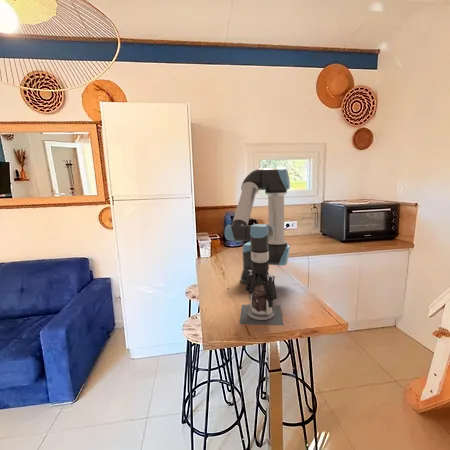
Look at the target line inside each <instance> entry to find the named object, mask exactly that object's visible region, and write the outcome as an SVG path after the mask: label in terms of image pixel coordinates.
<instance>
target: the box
mask: <svg viewBox="0 0 450 450" xmlns="http://www.w3.org/2000/svg"><path fill="white" fill-rule="evenodd" d="M266 300H267V296H266V293H265V290H264V288H260V289H255V290H254V291H252V307H253V308H254V309H255V310H257V311H258V312H259V311H263V310H266Z"/></svg>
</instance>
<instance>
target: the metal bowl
mask: <svg viewBox="0 0 450 450" xmlns="http://www.w3.org/2000/svg"><path fill="white" fill-rule="evenodd" d="M247 314H248V317H249V318H251V319H253V320H257V321H267V320H270V319H272V318H274V316H275V312H274V310H273V309H272V313H271V314H269V315H267V314H266V310H263V311H259V312H258V311H257V310H255V309H254V308H253V307H251V308H250V309H249V310H248V312H247Z"/></svg>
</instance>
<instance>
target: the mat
mask: <svg viewBox="0 0 450 450" xmlns="http://www.w3.org/2000/svg"><path fill="white" fill-rule="evenodd" d="M250 308H251V305H250V304H241V309H240V316H239V325H252V326H253V325H254V326H255V325H256V326H257V325H259V326H285V324H284V318H283V314H282V308H281V305H279V304H273V307H272V309H273V310H274V312H275V316H274V318H272V319H270V320H267V321H257V320H253V319H251V318H249V317H248V314H247V312H248V310H249V309H250Z"/></svg>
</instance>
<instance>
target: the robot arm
mask: <svg viewBox="0 0 450 450" xmlns="http://www.w3.org/2000/svg"><path fill="white" fill-rule="evenodd" d="M290 183H291V182H290V175H289V172H288V170H287V168H286V167H271V168H270V167H269V168H268V167H267V168H257V169H255V170H254V169H253V170H252V171H250V173H249V174H248V175H246V176H245V178H244V179H243V181H242V184H241V187H240V189H241V193H240V197H239V201H238V204H237V205H236V209H235V213H234V216H233V219H232V223H231V224H227V225H226V226H225V227H224V237H225V239H226V240H227V241H230V242H231V241H232V242H246V243H244V244H243V245H242V270H241V275H240V282H241V283H242V284H244V285H245V291H246V292H248V294H249V295H248V296H249V297H248V299H249V300H250V301H249V302H250V304H249V305H251V307H252V291H254V290H256V288H257V286H259V285H261V286H262V287H263V289H264V290H265V293H266V296H267V300H266V314H267V315H269V314H271V313H272V307H273V305H274V301H275V300H276V299H278V296H277V289H276V284H275V278H276V277H275V275H271V274H269V269H270V266H277V267H280V266H283V267H284V266H286V265H287V264H288V262H289V257H290V250H291V246H290V244H288V241H287V240H286V239H285V195H287V192H288V190H290ZM260 191H264V193H265V195H266V196H267V198H268V199H267V200H268V201H267V213H268V224H267V223H255V224H251V225H250V224H249V221H250V217H251V214H252V210H253V205H254V201H255V198H256V195H257V194H258V193H259V192H260Z"/></svg>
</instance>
